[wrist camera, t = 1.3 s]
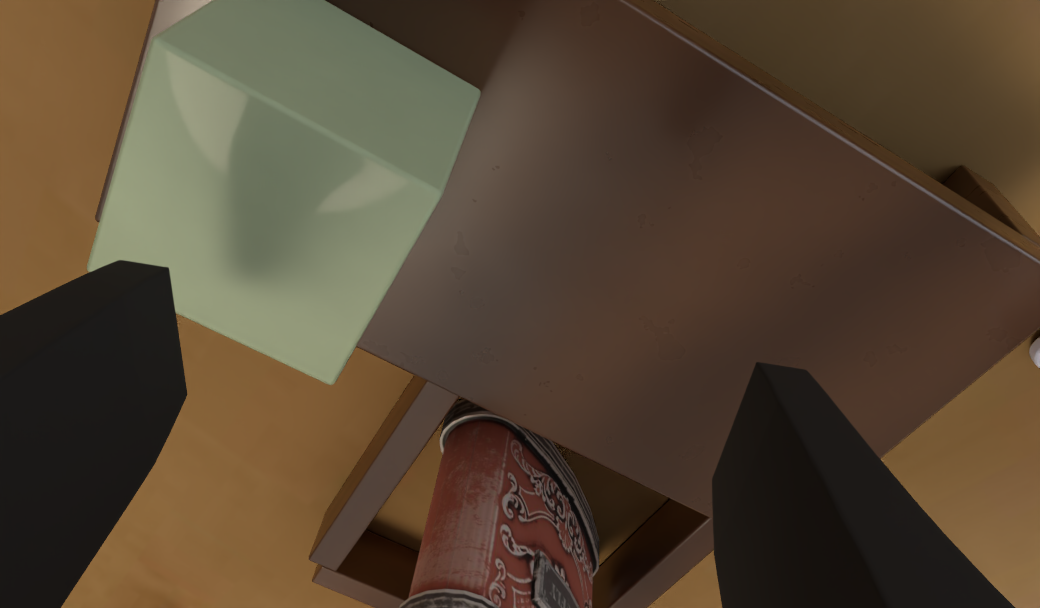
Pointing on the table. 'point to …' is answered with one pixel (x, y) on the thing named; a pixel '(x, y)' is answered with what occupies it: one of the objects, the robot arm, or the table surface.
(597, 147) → the wooden display riser
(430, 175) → the sage block
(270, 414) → the table surface
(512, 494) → the lighter
